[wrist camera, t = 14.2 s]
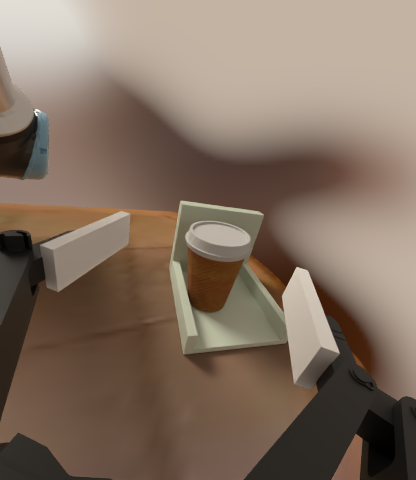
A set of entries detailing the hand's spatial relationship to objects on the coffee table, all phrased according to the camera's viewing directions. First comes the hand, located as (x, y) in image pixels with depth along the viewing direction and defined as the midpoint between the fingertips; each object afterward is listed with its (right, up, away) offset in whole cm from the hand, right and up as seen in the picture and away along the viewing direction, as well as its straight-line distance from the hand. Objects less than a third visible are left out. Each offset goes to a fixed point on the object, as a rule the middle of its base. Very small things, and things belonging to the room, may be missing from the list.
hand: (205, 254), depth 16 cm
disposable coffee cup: (0, -9, +18) cm, 20 cm away
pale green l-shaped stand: (+2, -10, +19) cm, 21 cm away
